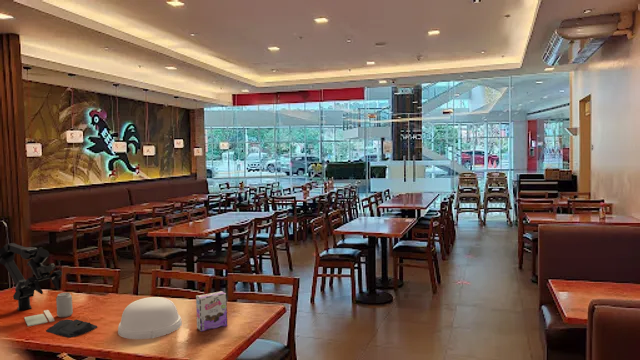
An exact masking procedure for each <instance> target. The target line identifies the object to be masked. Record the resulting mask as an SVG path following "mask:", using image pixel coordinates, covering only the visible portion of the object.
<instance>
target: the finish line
mask: <svg viewBox="0 0 640 360" xmlns="http://www.w3.org/2000/svg"><path fill="white" fill-rule="evenodd" d="M43 314H44V316H45V317H46V319H47V321H48V322H49V323H52V322H56V321H55V318H54V316H53V315H52V313H51V312H50V310H49V309H45V310H43Z"/></svg>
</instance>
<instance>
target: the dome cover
mask: <svg viewBox="0 0 640 360" xmlns="http://www.w3.org/2000/svg"><path fill="white" fill-rule="evenodd" d="M120 319H121V320H120V322H119V324H118V327H117V334H118V336H120V337H122V338H125V339H129V340H146V339H153V338H154V339H155V338H159V337H163V336H165V335H166V334H167V335H169V334H172V333H173V331H174V332H176V331H177V330H179V329H180V328H181V327H182V317H181V315H180V314H179V312H178V309H177V306H176V305H175V303H174V302H173V301H172V300H170V299H169V298H166V297H162V296H160V297H159V296H151V297H150V296H149V297H144V298H143V297H142V298H140V299H137V300H135V301H132V302H131V303H129V304H128V305H127V306H126V307H125V308H124V310H123V311H122V314H121V318H120ZM180 326H181V327H180ZM178 328H179V329H178ZM175 330H176V331H175ZM171 332H172V333H171ZM167 335H166V336H167Z"/></svg>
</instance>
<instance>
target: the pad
mask: <svg viewBox="0 0 640 360" xmlns="http://www.w3.org/2000/svg"><path fill="white" fill-rule="evenodd" d="M24 322H25V323H26V326H27V327H32V326H36V325H43V324H45V323H46V324H47V323H48V322H49V320H48V318H47V317H46V315H45V313H40V314H39V313H38V314H34V315H29V316H24Z"/></svg>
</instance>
